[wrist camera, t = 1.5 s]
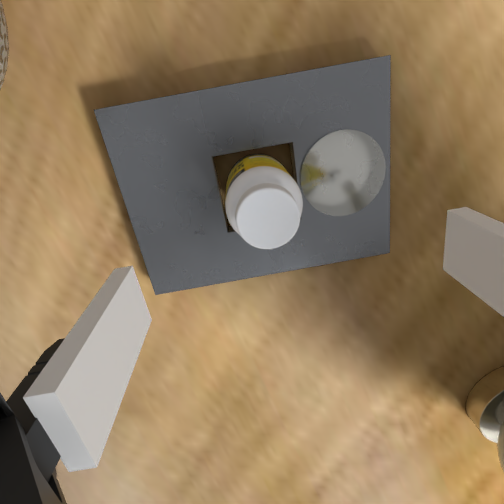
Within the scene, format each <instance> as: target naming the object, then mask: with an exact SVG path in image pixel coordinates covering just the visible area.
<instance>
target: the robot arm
mask: <svg viewBox="0 0 504 504" xmlns="http://www.w3.org/2000/svg"><path fill="white" fill-rule="evenodd" d="M443 270H444V271H445V272H447V273H448V274H449V275H451V276H452V277H453V278H454V279H456V280H457V281H458V282H460V283H461V284H462V285H463V286H465V287H466V288H467V289H469V290H470V291H471V292H472V293H474V294H475V295H476V296H477V297H479V298H480V299H481V300H483V301H484V302H485V303H486V304H488V305H489V306H490V307H492V308H493V309H494V310H495V311H497V312H498V313H499V314H501V315H502V316H503V317H504V223H502V222H500V221H497V220H495V219H493V218H491V217H488V216H486V215H484V214H481V213H479V212H477V211H475V210H472V209H470V208H468V207H462V208H457V209H451V210H447V222H446V235H445V247H444V260H443ZM151 321H152V319H151V316H150V313H149V311H148V308H147V305H146V302H145V299H144V296H143V294H142V291H141V288H140V285H139V282H138V279H137V277H136V274H135V271H134V268H133V266H128V267H122V268H116V269H114V270H113V272H112V273H111V275H110V276H109V277H108V279H107V280H106V282H105V283H104V284H103V286H102V287H101V289H100V290H99V291H98V293H97V294H96V296H95V297H94V298H93V300H92V301H91V303H90V304H89V305H88V307H87V308H86V310H85V311H84V312H83V314H82V315H81V317H80V318H79V319H78V321H77V322H76V324H75V325H74V326H73V328H72V329H71V331H70V332H69V333H68V335H67V336H66V338H64V339H59V340H57V341H56V342H55V343H54V344H53V345H51V346H50V347H49V348H48V349H47V350H45V351H44V353H43V354H42V355H41V357H40V358H39V359H38V361H37V362H36V365H35V366H33V367H32V368H31V370H30V371H29V372H28V376H25V378H24V379H23V380H22V382H21V383H20V384H19V386H18V387H17V388H16V390H15V391H14V392H13V394H12V395H11V396H10V397H9V399H8V400H7V401H5V399H4V398H3V396H2V395H1V393H0V504H67V503H66V501H65V498H64V495H63V493H62V490H61V488H60V485H59V482H58V480H57V479H56V469H55V467H56V465H57V463H58V461H59V459H60V458H61V460H62V462H63V463H64V465H65V466H66V468H67V470H68V471H69V472H72V471H78V470H84V469H90V468H96V467H97V466H98V463H99V461H100V458H101V455H102V453H103V450H104V447H105V444H106V442H107V439H108V436H109V434H110V431H111V428H112V426H113V423H114V420H115V417H116V415H117V412H118V409H119V407H120V404H121V401H122V399H123V396H124V393H125V391H126V388H127V385H128V382H129V380H130V377H131V374H132V372H133V369H134V366H135V364H136V361H137V358H138V356H139V353H140V350H141V347H142V345H143V342H144V339H145V337H146V334H147V331H148V329H149V326H150V323H151Z"/></svg>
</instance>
